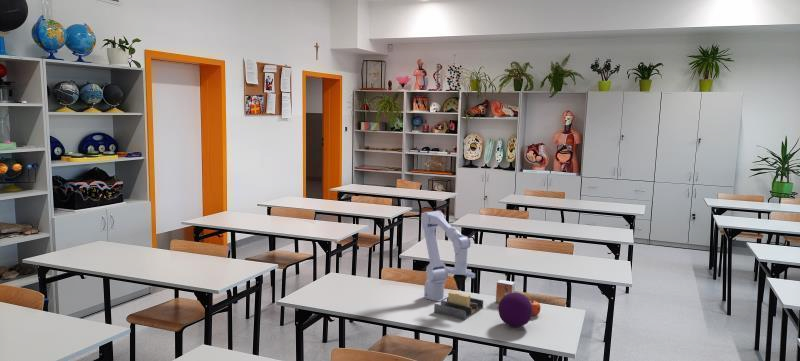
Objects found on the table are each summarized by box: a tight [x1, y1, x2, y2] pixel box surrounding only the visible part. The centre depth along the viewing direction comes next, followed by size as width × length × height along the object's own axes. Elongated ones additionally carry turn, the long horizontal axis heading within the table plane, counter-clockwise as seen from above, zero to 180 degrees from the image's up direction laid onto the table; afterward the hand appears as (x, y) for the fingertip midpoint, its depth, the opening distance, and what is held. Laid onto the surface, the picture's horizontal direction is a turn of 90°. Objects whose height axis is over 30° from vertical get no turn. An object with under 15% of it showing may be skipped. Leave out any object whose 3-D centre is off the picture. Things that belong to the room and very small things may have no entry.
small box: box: [495, 279, 516, 304], centre depth 285 cm, size 8×6×10 cm
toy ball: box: [497, 291, 533, 328], centre depth 254 cm, size 15×15×15 cm
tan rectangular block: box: [447, 290, 471, 307], centre depth 272 cm, size 10×3×7 cm, turn 56°
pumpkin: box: [530, 299, 542, 317], centre depth 269 cm, size 8×8×7 cm
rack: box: [433, 296, 484, 321], centre depth 272 cm, size 16×19×4 cm
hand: (459, 289), depth 272 cm, fingers closed
